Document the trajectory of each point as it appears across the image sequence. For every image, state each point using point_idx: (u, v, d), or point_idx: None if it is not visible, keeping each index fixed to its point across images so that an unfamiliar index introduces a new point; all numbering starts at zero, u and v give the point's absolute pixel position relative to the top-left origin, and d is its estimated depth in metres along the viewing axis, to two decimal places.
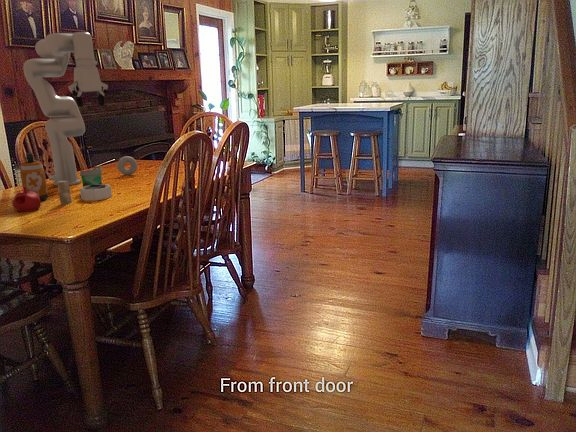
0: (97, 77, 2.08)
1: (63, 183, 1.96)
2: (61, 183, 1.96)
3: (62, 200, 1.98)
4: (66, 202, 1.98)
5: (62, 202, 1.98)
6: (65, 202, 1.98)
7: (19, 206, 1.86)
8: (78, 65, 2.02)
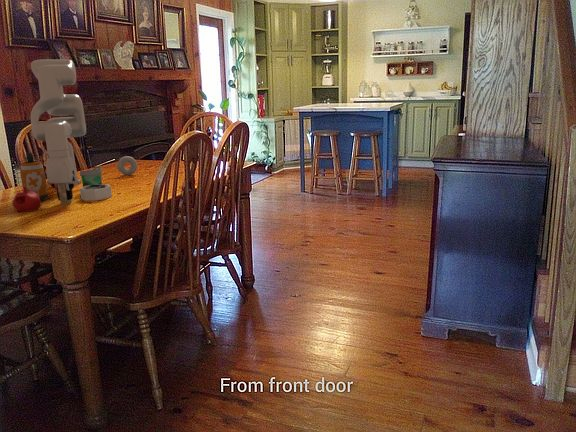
0: None
1: (63, 183, 1.96)
2: (61, 183, 1.96)
3: (62, 200, 1.98)
4: (66, 202, 1.98)
5: (61, 202, 1.98)
6: (65, 202, 1.98)
7: (19, 206, 1.86)
8: (68, 155, 1.95)
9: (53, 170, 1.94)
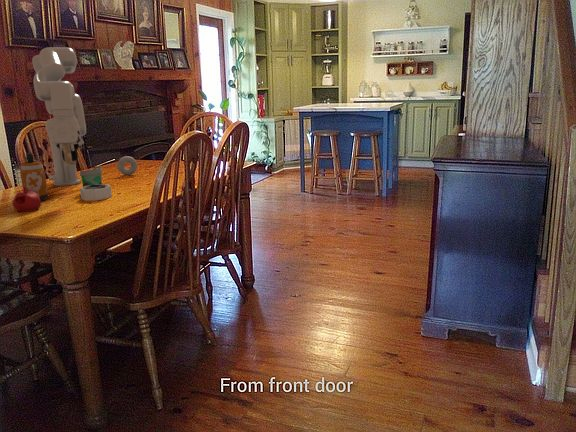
0: None
1: (68, 143, 1.95)
2: (66, 143, 1.95)
3: (67, 161, 1.97)
4: (71, 163, 1.97)
5: (66, 163, 1.97)
6: (70, 163, 1.97)
7: (19, 206, 1.86)
8: (73, 115, 1.94)
9: (58, 130, 1.93)
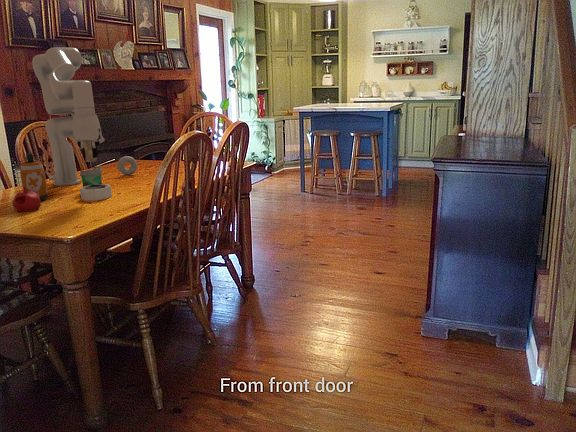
0: None
1: (89, 141, 2.01)
2: None
3: (88, 158, 2.03)
4: (92, 160, 2.03)
5: (87, 160, 2.03)
6: (91, 160, 2.03)
7: (19, 206, 1.86)
8: (94, 113, 2.00)
9: (80, 127, 1.98)
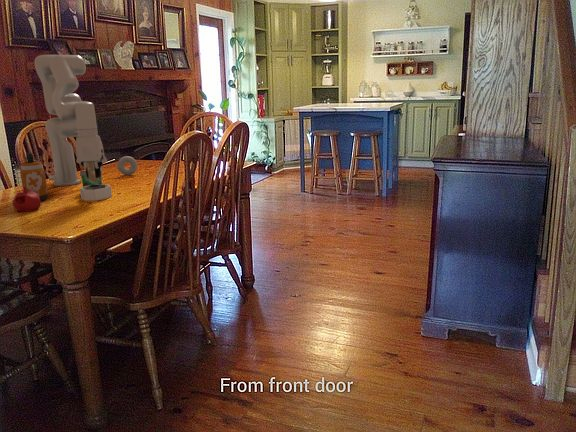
0: None
1: (92, 161, 2.03)
2: (90, 161, 2.03)
3: (91, 178, 2.05)
4: (94, 180, 2.05)
5: (90, 180, 2.05)
6: (94, 180, 2.05)
7: (19, 206, 1.86)
8: (97, 134, 2.02)
9: (83, 148, 2.00)
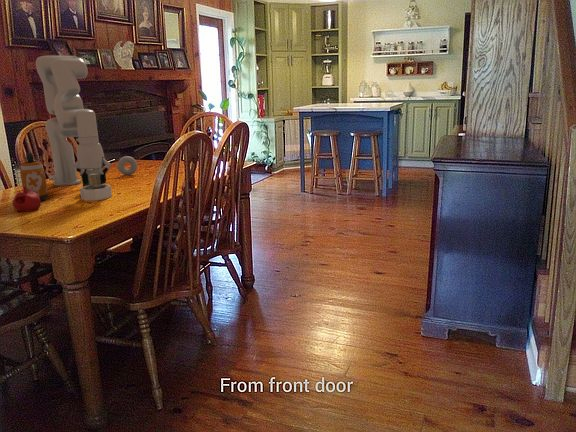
0: None
1: (94, 176, 2.05)
2: (93, 175, 2.05)
3: None
4: None
5: None
6: None
7: (19, 206, 1.86)
8: (98, 141, 2.03)
9: (84, 156, 2.01)
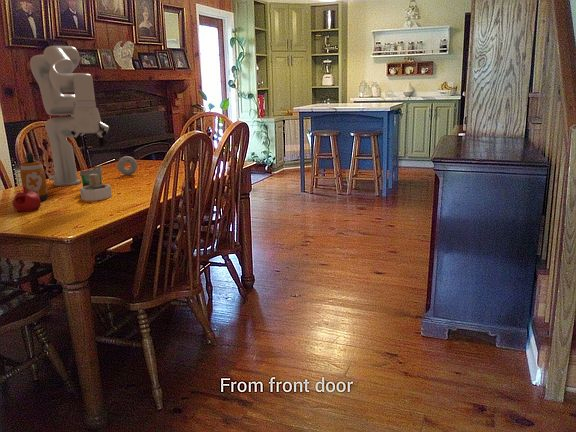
0: None
1: (94, 176, 2.05)
2: (93, 176, 2.05)
3: None
4: None
5: None
6: None
7: (19, 206, 1.86)
8: (95, 106, 2.02)
9: (80, 120, 2.01)
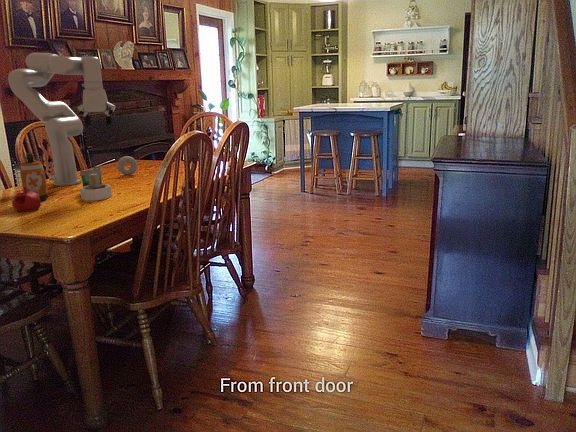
0: None
1: (94, 176, 2.05)
2: (93, 176, 2.05)
3: None
4: None
5: None
6: None
7: (19, 206, 1.86)
8: (102, 87, 2.19)
9: (89, 100, 2.17)
